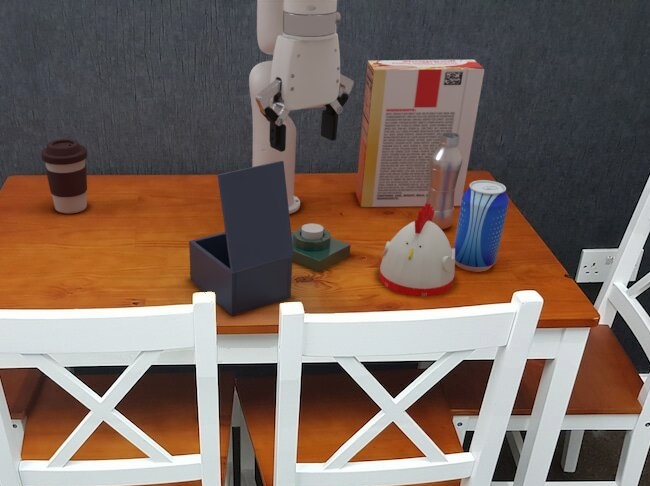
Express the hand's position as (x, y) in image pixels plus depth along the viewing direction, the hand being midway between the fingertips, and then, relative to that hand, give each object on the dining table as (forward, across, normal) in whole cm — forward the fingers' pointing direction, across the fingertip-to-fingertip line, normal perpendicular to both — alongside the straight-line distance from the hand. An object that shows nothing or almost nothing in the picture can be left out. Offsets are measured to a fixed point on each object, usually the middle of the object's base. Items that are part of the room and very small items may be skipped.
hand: (303, 143), depth 122 cm
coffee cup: (+31, +15, -67) cm, 75 cm away
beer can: (+31, -42, +2) cm, 52 cm away
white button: (+27, -17, -18) cm, 37 cm away
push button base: (+31, -17, -18) cm, 40 cm away
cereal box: (+31, -53, -30) cm, 68 cm away
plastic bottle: (+31, -48, -15) cm, 59 cm away
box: (+31, +3, -14) cm, 34 cm away
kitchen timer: (+31, -28, +1) cm, 42 cm away
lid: (+14, +3, -8) cm, 17 cm away
